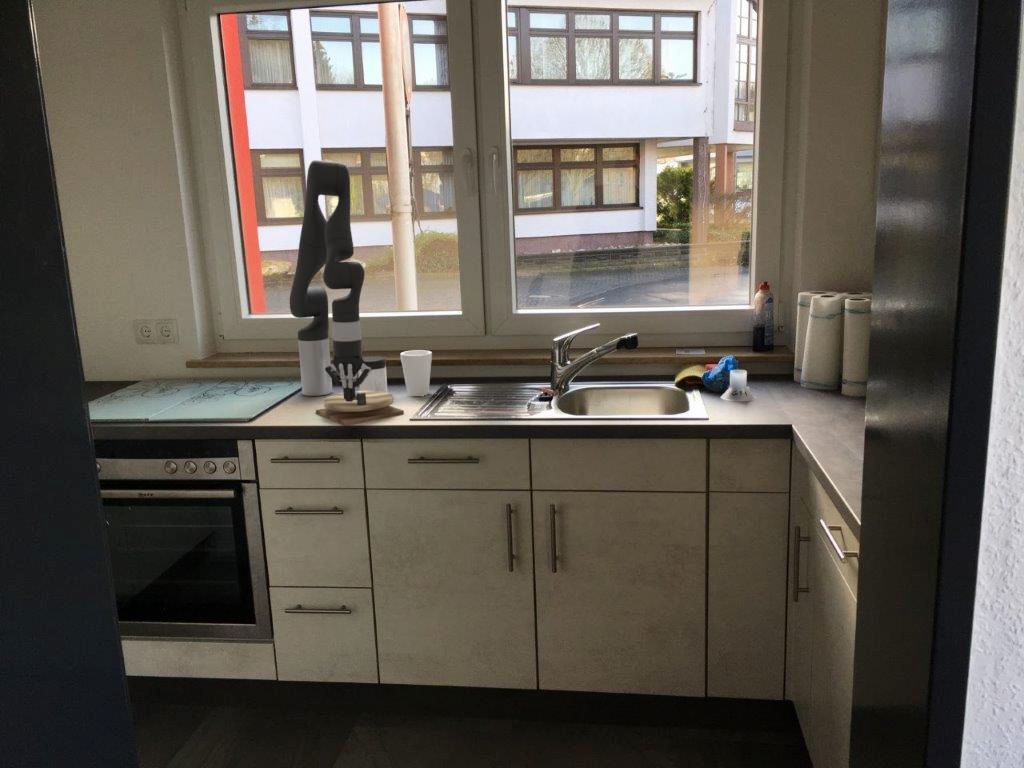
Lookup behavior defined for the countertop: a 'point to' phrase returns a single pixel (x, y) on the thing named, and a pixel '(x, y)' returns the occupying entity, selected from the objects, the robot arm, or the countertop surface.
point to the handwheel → (359, 401)
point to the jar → (374, 375)
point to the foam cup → (416, 371)
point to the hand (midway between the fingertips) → (349, 400)
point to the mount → (359, 415)
